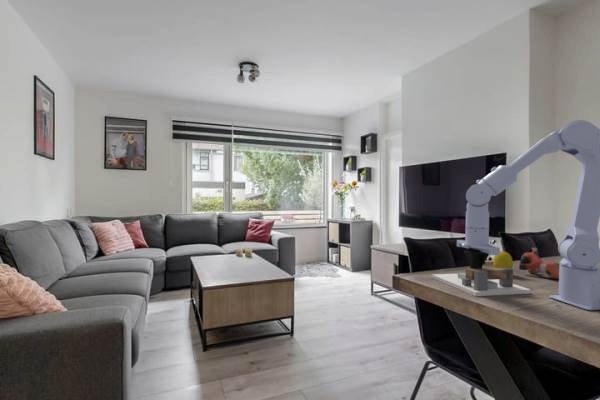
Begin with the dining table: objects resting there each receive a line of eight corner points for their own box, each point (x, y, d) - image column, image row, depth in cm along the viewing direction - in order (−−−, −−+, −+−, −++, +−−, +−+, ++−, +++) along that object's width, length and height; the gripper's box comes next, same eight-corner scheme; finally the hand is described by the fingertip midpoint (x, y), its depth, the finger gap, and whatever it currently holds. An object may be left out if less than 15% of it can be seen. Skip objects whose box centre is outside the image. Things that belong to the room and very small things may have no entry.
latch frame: (530, 293, 85) (531, 271, 84) (475, 296, 81) (475, 273, 81) (478, 275, 103) (479, 257, 103) (431, 277, 100) (432, 258, 100)
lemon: (516, 276, 103) (516, 252, 103) (499, 276, 103) (499, 251, 103) (505, 272, 109) (506, 249, 109) (489, 272, 109) (490, 249, 109)
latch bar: (506, 283, 90) (506, 267, 90) (515, 286, 86) (516, 270, 86) (464, 284, 88) (464, 268, 88) (472, 287, 84) (472, 271, 84)
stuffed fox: (535, 251, 112) (576, 254, 102) (527, 280, 109) (569, 286, 98) (524, 240, 110) (566, 242, 99) (516, 269, 106) (558, 274, 96)
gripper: (447, 225, 95) (446, 270, 95) (483, 230, 80) (481, 283, 80) (469, 225, 96) (468, 269, 96) (507, 230, 81) (506, 283, 82)
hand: (475, 276), depth 88 cm, fingers closed, pressing on latch bar
